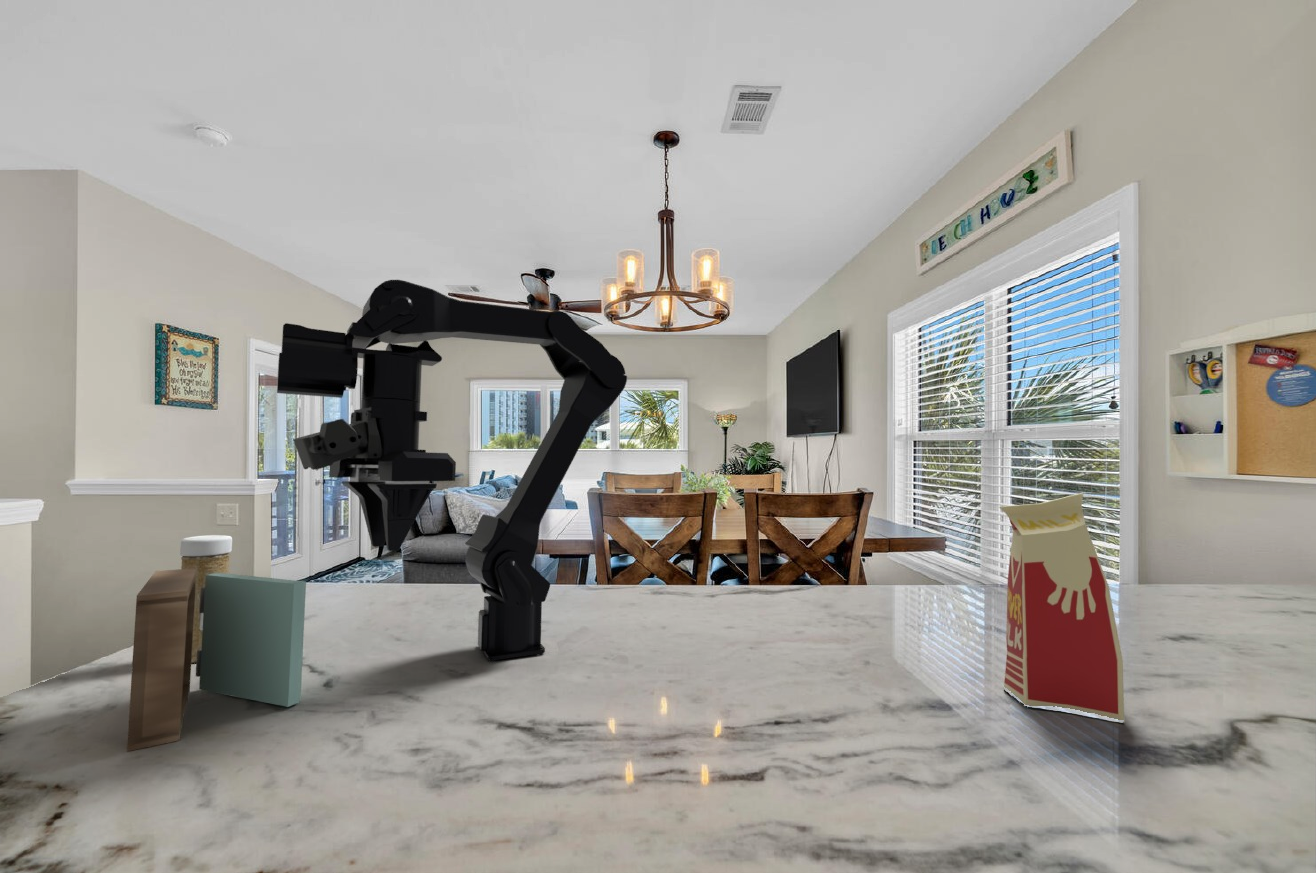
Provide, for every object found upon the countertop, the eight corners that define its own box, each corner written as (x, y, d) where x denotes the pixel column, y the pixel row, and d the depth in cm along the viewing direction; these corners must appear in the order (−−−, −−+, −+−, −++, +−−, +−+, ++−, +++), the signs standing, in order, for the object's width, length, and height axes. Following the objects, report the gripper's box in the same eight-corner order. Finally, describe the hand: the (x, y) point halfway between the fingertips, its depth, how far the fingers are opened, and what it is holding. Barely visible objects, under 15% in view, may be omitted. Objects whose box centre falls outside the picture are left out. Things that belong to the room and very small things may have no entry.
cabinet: (189, 690, 53) (196, 568, 54) (178, 740, 44) (187, 590, 45) (147, 697, 52) (155, 571, 52) (126, 751, 42) (136, 595, 43)
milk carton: (1099, 688, 57) (1093, 492, 58) (1131, 726, 49) (1123, 495, 50) (995, 673, 61) (992, 489, 62) (1008, 706, 52) (1003, 492, 53)
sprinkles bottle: (224, 659, 62) (230, 537, 63) (170, 667, 59) (177, 540, 60) (227, 648, 66) (234, 533, 67) (177, 654, 63) (184, 535, 64)
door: (204, 683, 55) (211, 571, 55) (300, 701, 51) (306, 581, 51) (191, 687, 54) (197, 574, 54) (288, 706, 50) (294, 584, 50)
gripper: (279, 400, 60) (272, 546, 60) (338, 384, 48) (329, 569, 47) (386, 409, 69) (381, 537, 68) (460, 398, 56) (455, 555, 55)
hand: (385, 548), depth 59 cm, fingers open, 4 cm apart
